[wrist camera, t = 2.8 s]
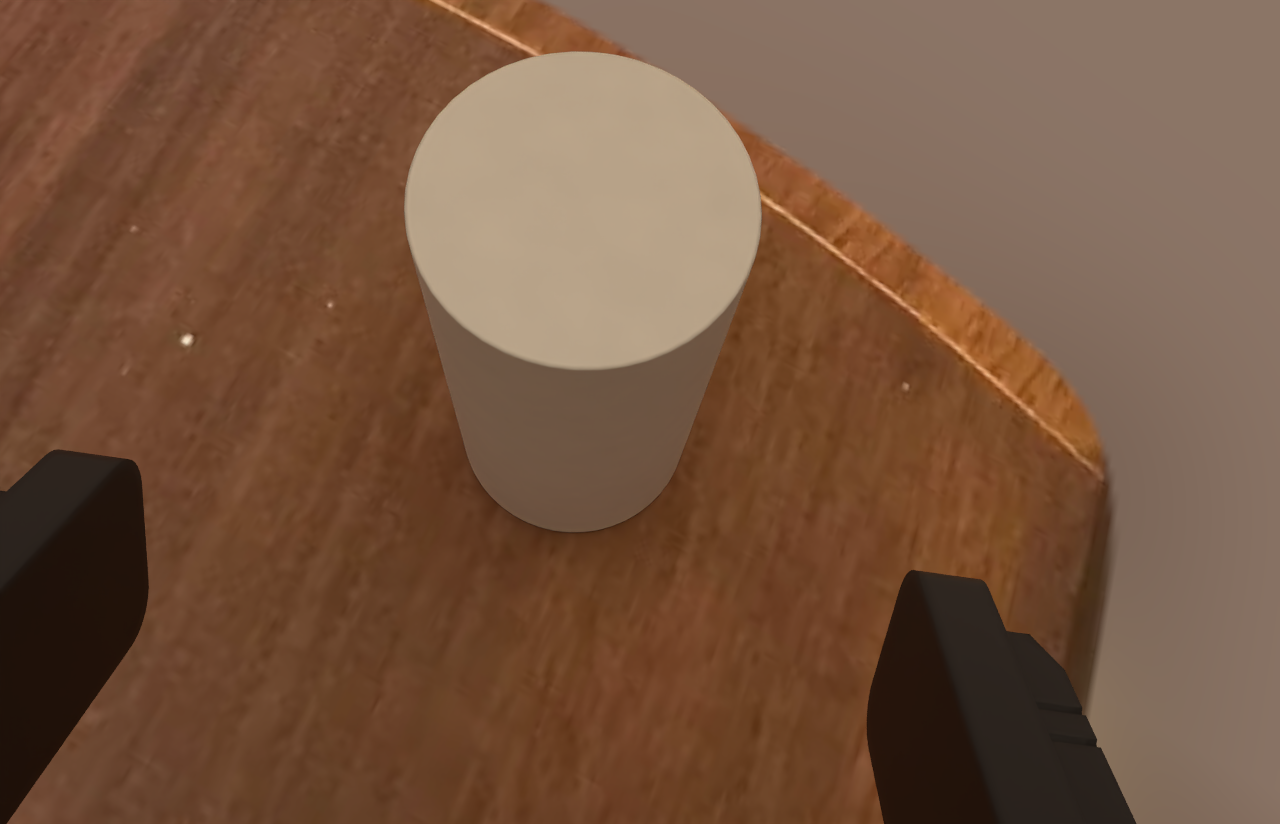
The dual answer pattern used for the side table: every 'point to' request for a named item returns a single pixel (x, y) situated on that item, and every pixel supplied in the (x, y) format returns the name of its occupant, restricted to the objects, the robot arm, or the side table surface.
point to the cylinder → (580, 275)
